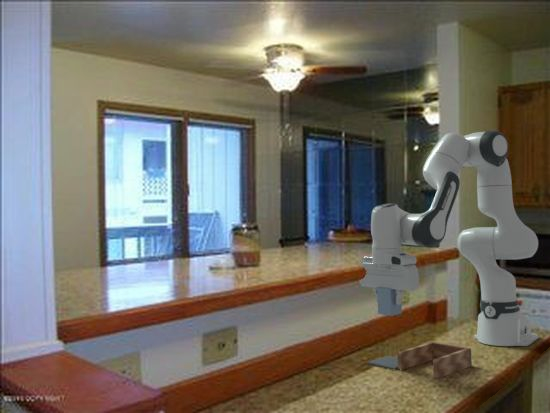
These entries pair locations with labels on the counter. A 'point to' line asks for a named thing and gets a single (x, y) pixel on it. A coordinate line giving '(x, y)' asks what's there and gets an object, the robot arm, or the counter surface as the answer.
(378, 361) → the pad
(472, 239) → the robot arm
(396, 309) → the block
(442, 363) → the frame
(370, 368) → the counter surface
